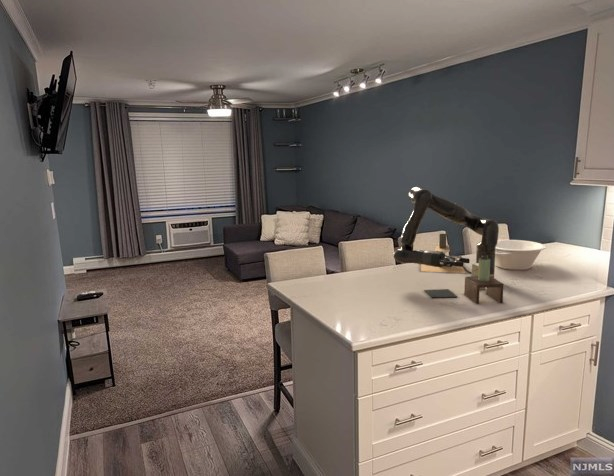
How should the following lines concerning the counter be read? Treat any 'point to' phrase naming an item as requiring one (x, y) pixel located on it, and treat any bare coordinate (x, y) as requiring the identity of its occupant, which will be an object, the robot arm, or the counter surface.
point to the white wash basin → (516, 254)
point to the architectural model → (444, 248)
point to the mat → (440, 293)
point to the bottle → (484, 268)
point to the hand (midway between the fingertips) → (466, 262)
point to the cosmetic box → (475, 270)
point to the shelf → (474, 287)
